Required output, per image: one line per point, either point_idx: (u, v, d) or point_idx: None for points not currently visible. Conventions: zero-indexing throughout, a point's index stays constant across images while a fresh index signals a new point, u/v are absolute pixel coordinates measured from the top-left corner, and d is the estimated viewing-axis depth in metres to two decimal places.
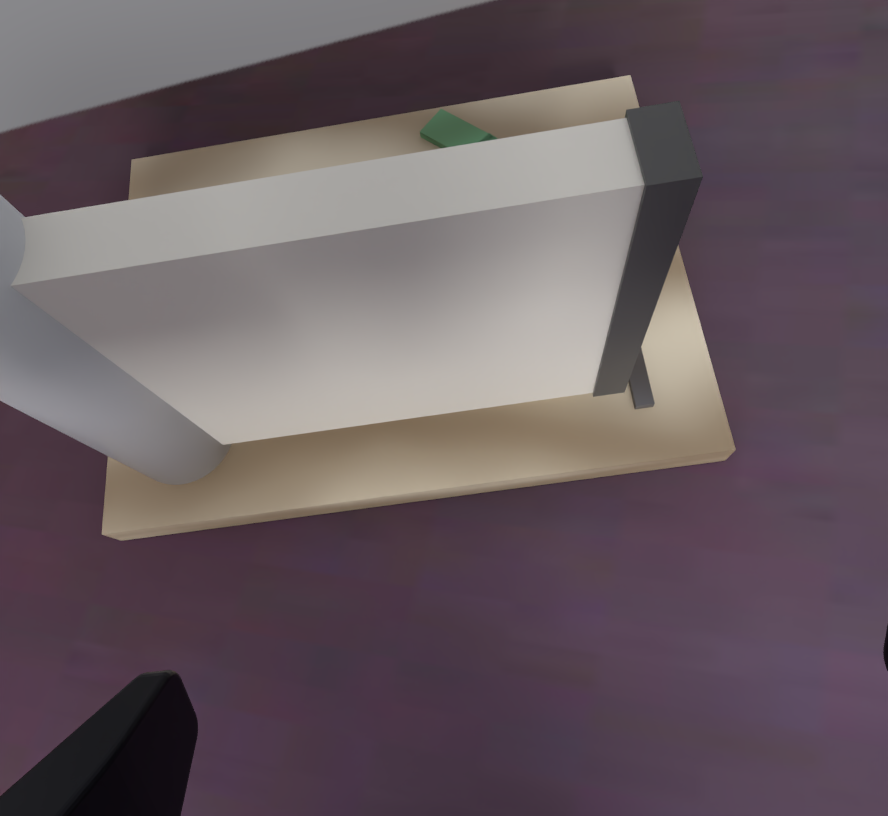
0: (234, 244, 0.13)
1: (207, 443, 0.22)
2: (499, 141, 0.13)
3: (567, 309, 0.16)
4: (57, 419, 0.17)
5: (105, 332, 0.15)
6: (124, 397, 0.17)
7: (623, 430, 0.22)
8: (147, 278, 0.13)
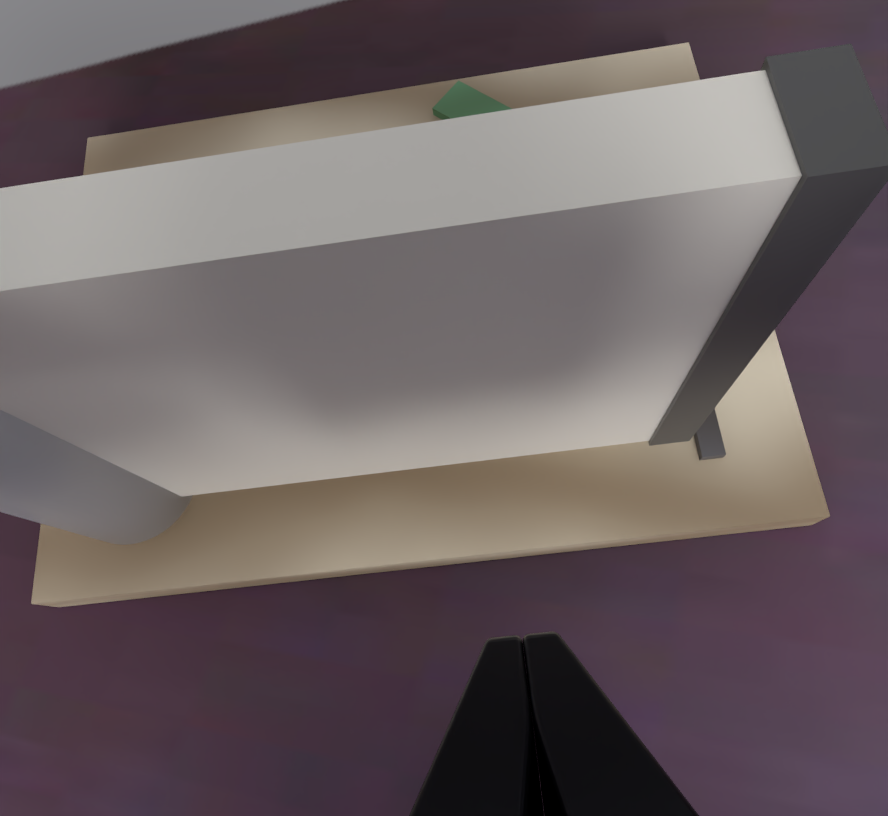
0: (150, 259, 0.08)
1: (159, 497, 0.17)
2: (563, 105, 0.09)
3: (639, 348, 0.12)
4: None
5: None
6: (31, 456, 0.13)
7: (685, 487, 0.18)
8: (22, 308, 0.09)
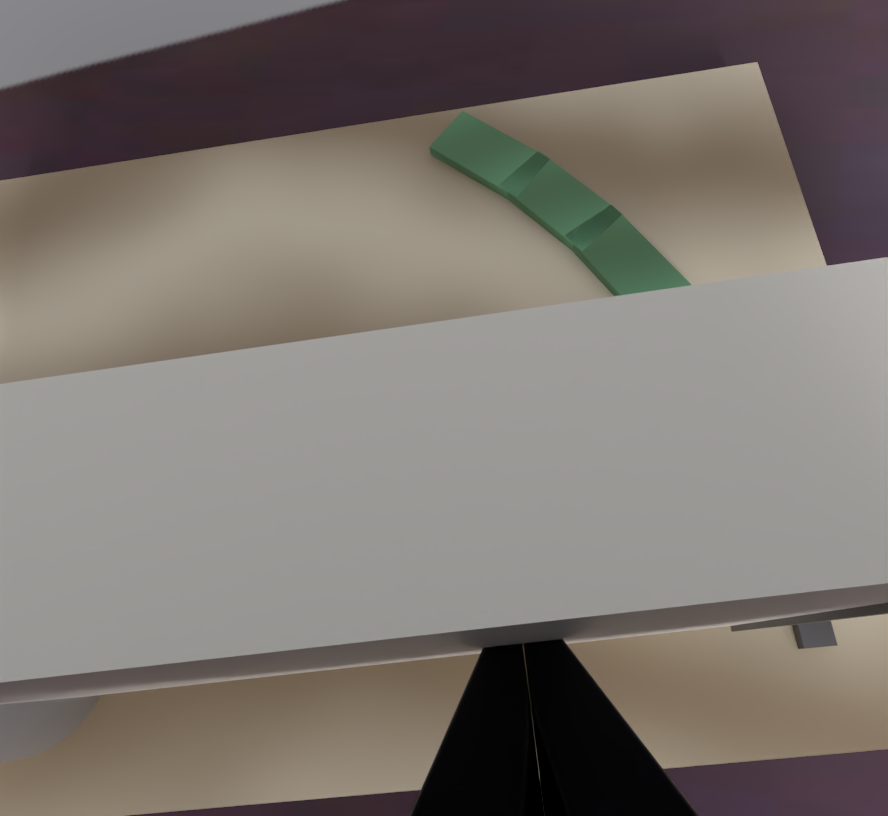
0: None
1: (47, 713, 0.12)
2: (724, 286, 0.04)
3: (780, 613, 0.07)
4: None
5: None
6: None
7: (780, 689, 0.13)
8: None
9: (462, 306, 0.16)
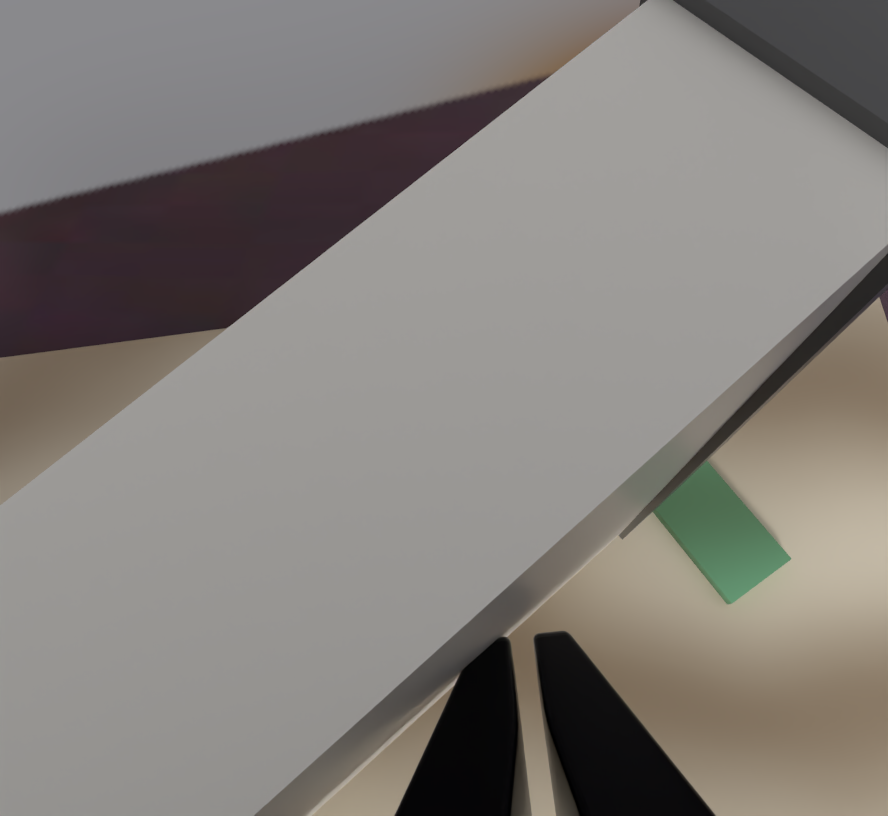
0: None
1: None
2: (259, 313, 0.03)
3: (612, 529, 0.07)
4: None
5: None
6: None
7: None
8: None
9: None
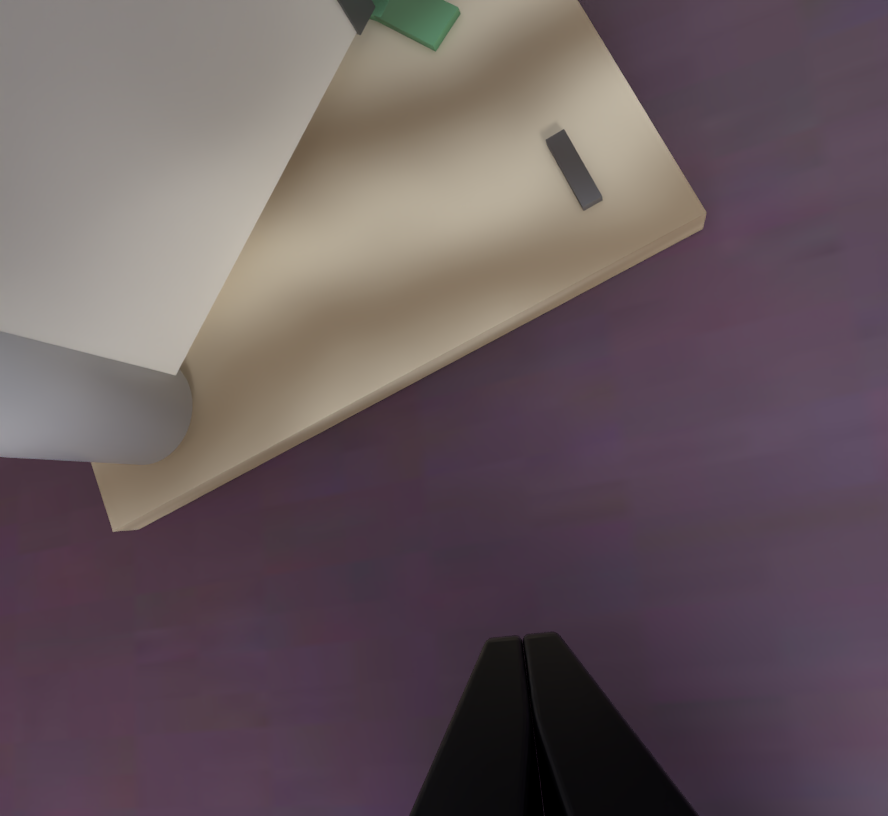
0: None
1: (160, 377, 0.21)
2: None
3: None
4: (7, 418, 0.16)
5: None
6: (36, 357, 0.16)
7: (578, 238, 0.19)
8: None
9: None
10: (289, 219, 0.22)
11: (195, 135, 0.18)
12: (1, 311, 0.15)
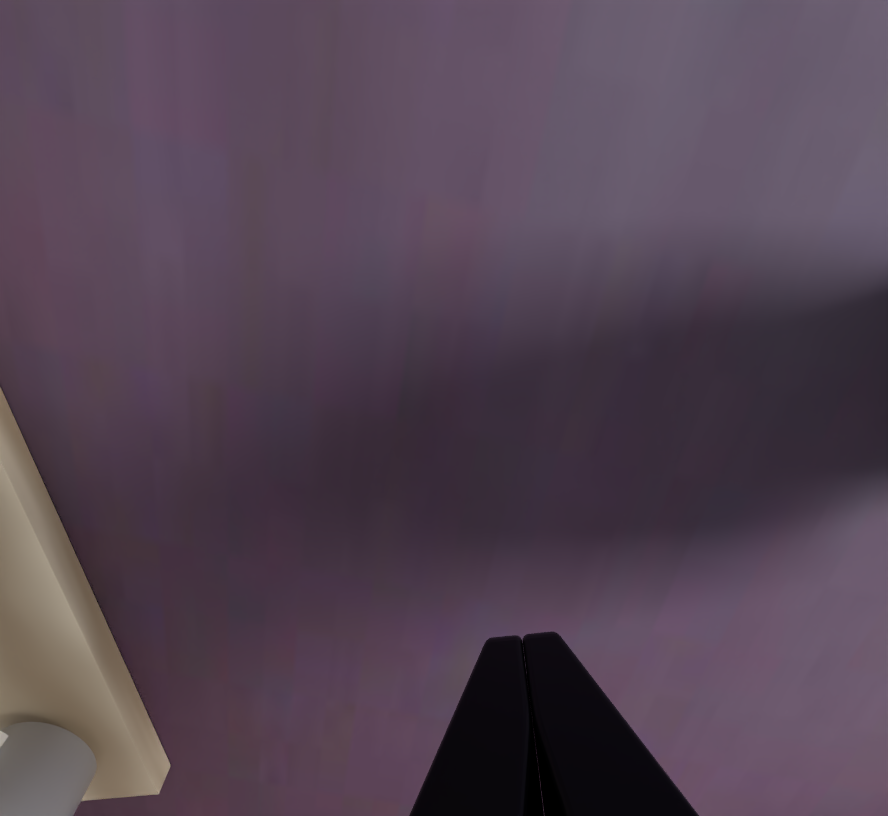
0: None
1: None
2: None
3: None
4: None
5: None
6: None
7: None
8: None
9: None
10: None
11: None
12: None
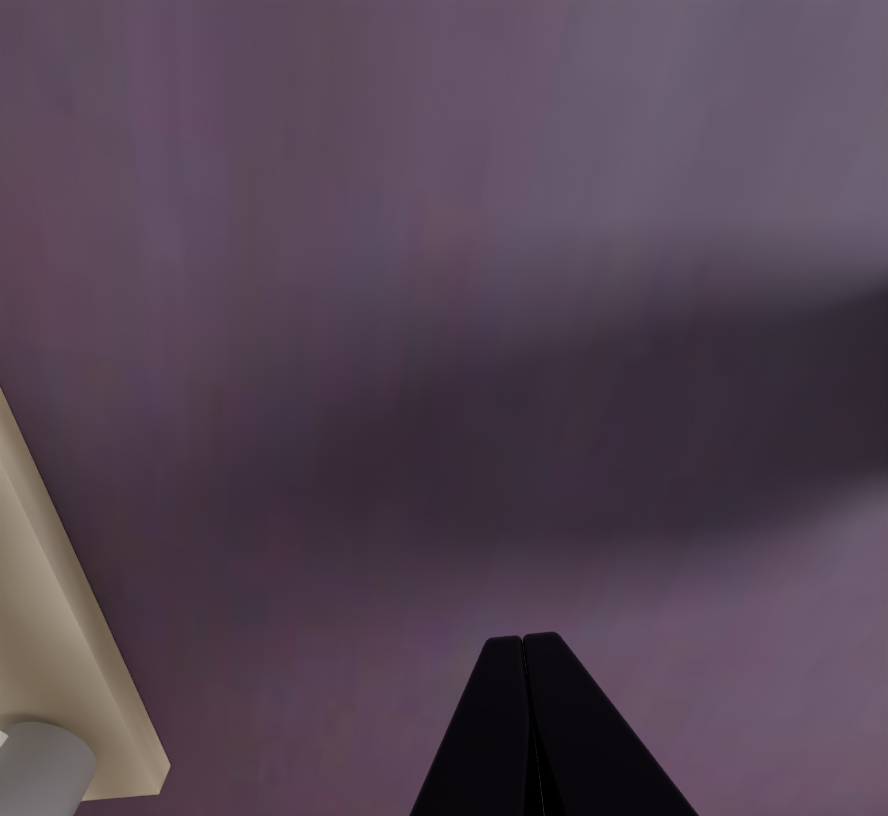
0: None
1: None
2: None
3: None
4: None
5: None
6: None
7: None
8: None
9: None
10: None
11: None
12: None
